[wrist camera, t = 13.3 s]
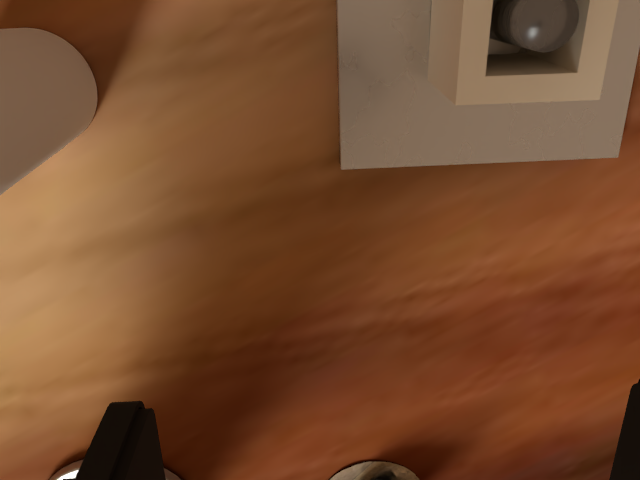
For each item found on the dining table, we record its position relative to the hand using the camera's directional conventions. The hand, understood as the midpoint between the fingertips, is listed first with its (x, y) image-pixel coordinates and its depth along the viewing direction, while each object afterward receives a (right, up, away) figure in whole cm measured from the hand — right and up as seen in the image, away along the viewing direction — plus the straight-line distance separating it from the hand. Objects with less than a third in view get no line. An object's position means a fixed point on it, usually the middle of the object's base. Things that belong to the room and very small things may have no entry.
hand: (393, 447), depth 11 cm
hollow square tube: (+7, +16, +18) cm, 25 cm away
